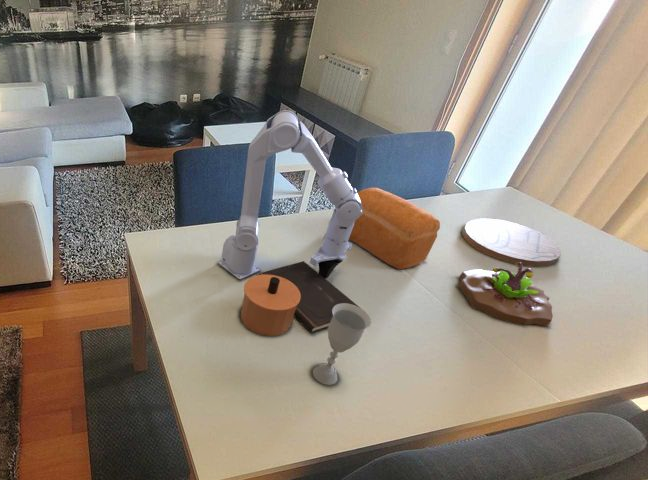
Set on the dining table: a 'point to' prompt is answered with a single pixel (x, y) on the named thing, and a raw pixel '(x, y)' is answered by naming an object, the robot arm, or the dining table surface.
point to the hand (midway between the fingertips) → (322, 277)
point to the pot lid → (272, 292)
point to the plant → (507, 295)
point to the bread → (394, 228)
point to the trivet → (511, 242)
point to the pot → (265, 319)
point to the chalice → (342, 337)
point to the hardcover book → (312, 295)
